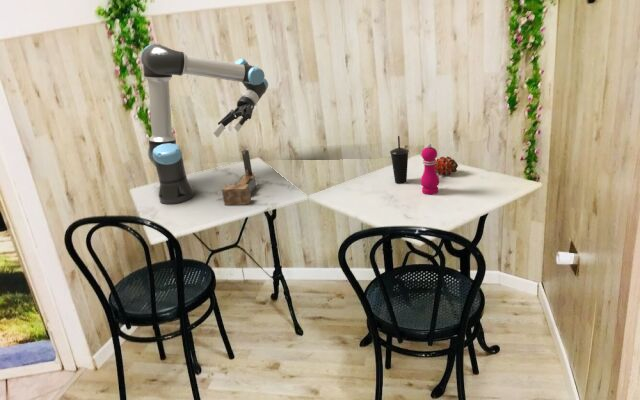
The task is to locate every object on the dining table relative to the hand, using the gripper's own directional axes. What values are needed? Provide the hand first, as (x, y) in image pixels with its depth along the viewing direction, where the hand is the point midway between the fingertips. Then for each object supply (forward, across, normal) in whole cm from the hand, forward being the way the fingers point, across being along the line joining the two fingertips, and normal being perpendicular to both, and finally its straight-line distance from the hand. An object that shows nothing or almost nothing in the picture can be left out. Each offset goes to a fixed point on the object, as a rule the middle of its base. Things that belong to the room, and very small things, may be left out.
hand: (225, 132), depth 229 cm
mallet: (+14, -4, -21) cm, 26 cm away
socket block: (+26, -9, -19) cm, 33 cm away
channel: (+16, -4, -22) cm, 28 cm away
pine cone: (-19, -74, -60) cm, 97 cm away
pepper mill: (0, -76, -52) cm, 92 cm away
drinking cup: (-8, -60, -51) cm, 79 cm away
